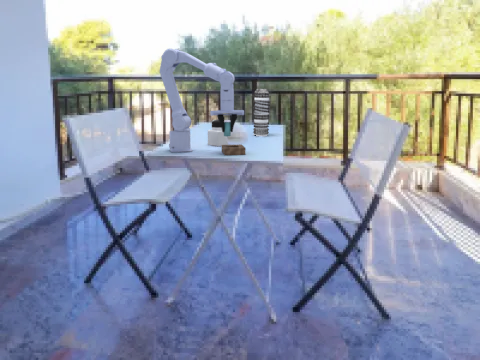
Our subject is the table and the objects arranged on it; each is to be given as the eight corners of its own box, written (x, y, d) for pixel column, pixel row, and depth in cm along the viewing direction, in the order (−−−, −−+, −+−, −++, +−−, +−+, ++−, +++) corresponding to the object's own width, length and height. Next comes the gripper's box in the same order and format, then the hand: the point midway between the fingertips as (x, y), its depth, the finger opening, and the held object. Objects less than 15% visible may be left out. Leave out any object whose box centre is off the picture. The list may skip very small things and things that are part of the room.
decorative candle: (251, 136, 254) (252, 89, 248) (253, 133, 263) (254, 88, 257) (268, 136, 253) (269, 89, 247) (270, 134, 262) (271, 88, 256)
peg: (224, 136, 204) (224, 122, 203) (223, 135, 207) (223, 121, 205) (231, 136, 205) (231, 122, 203) (229, 135, 208) (229, 121, 206)
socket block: (224, 155, 200) (224, 148, 200) (221, 151, 209) (221, 144, 208) (245, 154, 202) (245, 147, 201) (241, 151, 211) (241, 144, 210)
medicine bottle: (228, 144, 226) (228, 120, 224) (217, 146, 221) (217, 121, 218) (218, 143, 231) (218, 118, 228) (207, 144, 226) (207, 119, 223)
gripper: (211, 101, 197) (212, 133, 200) (245, 100, 200) (245, 132, 203) (209, 100, 203) (209, 131, 207) (242, 99, 206) (242, 130, 210)
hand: (227, 131), depth 205 cm, fingers closed on peg, 3 cm apart
